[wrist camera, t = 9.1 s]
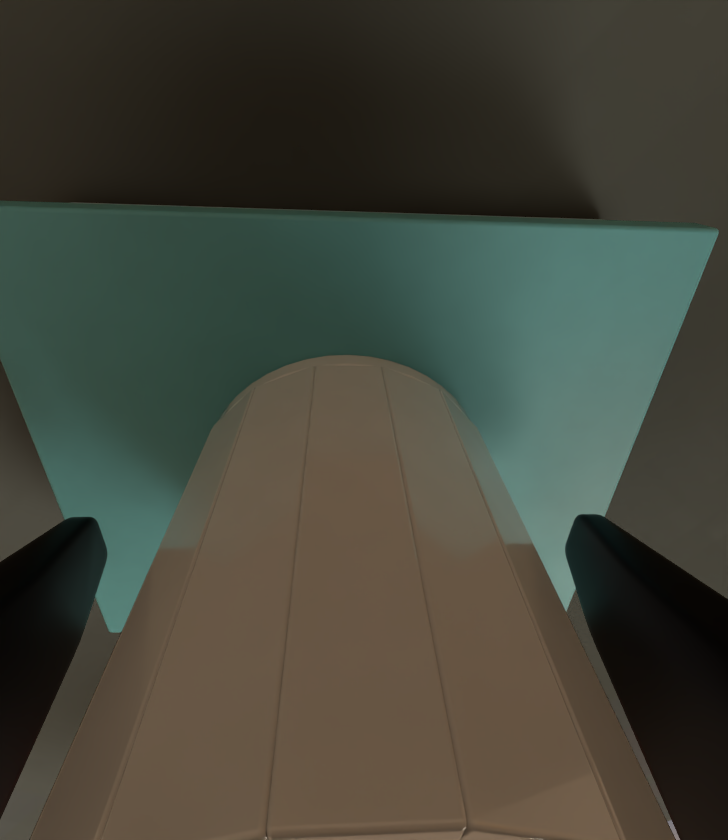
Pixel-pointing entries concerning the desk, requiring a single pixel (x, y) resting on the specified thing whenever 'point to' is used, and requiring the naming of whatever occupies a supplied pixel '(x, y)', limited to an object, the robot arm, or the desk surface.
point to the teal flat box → (330, 343)
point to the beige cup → (348, 644)
